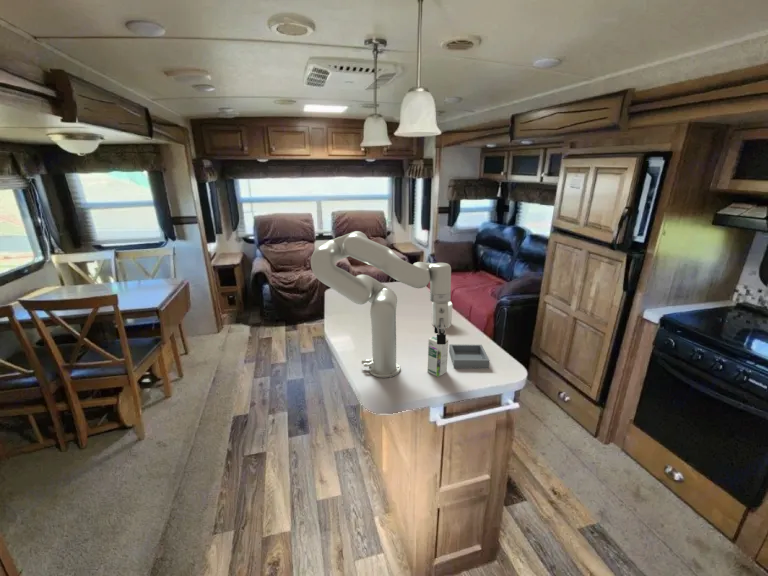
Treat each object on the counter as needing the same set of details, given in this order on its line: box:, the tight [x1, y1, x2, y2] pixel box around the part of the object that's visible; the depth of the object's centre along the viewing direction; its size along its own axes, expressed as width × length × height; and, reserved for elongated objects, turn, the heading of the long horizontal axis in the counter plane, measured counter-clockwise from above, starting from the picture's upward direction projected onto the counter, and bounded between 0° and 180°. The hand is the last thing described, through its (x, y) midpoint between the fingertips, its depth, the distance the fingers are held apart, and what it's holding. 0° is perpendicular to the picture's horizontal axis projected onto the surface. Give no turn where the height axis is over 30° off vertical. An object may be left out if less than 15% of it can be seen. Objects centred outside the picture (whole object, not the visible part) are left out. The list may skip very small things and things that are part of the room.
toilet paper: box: [431, 300, 453, 329], centre depth 183 cm, size 10×10×12 cm
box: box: [448, 344, 490, 369], centre depth 147 cm, size 14×14×4 cm
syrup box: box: [427, 334, 449, 378], centre depth 137 cm, size 6×6×14 cm
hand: (439, 338), depth 134 cm, fingers open, 9 cm apart
